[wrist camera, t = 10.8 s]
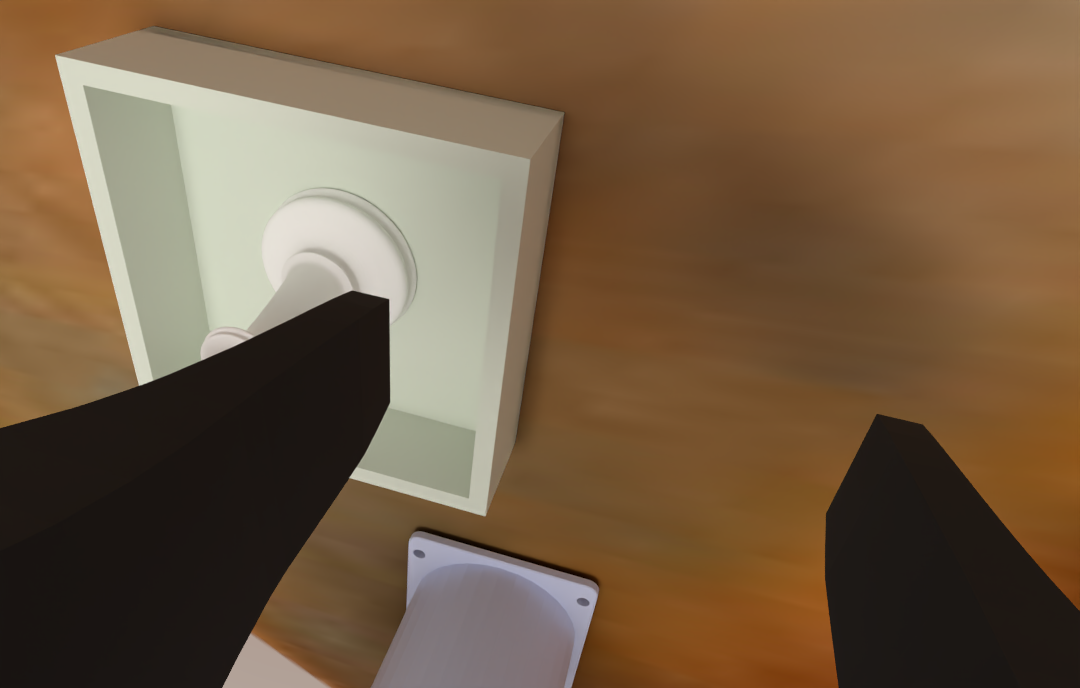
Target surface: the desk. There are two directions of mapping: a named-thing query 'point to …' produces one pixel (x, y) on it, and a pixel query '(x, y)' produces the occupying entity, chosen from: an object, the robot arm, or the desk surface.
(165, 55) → the box
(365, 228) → the chess piece
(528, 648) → the robot arm
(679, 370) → the desk surface
